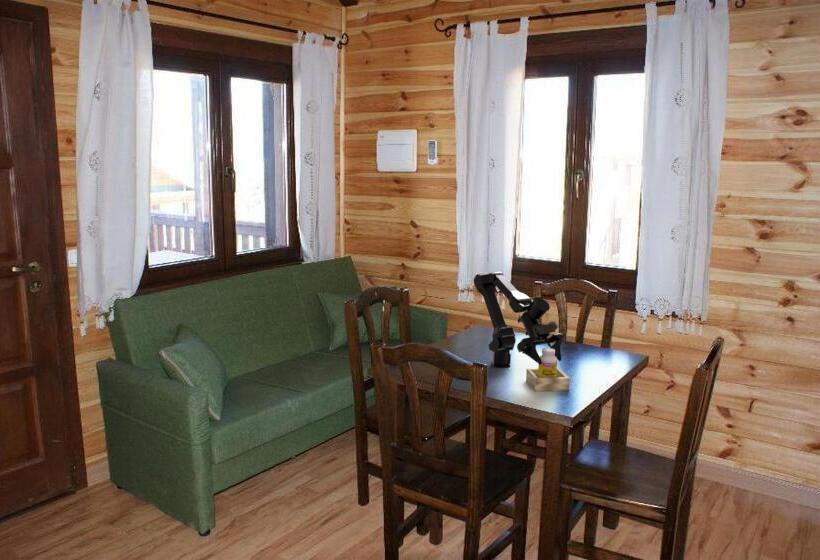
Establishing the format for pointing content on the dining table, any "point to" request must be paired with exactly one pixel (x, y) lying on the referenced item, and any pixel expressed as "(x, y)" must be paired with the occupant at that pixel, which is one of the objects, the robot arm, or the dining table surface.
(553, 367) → the supplement bottle
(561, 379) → the birch box
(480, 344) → the dining table surface
